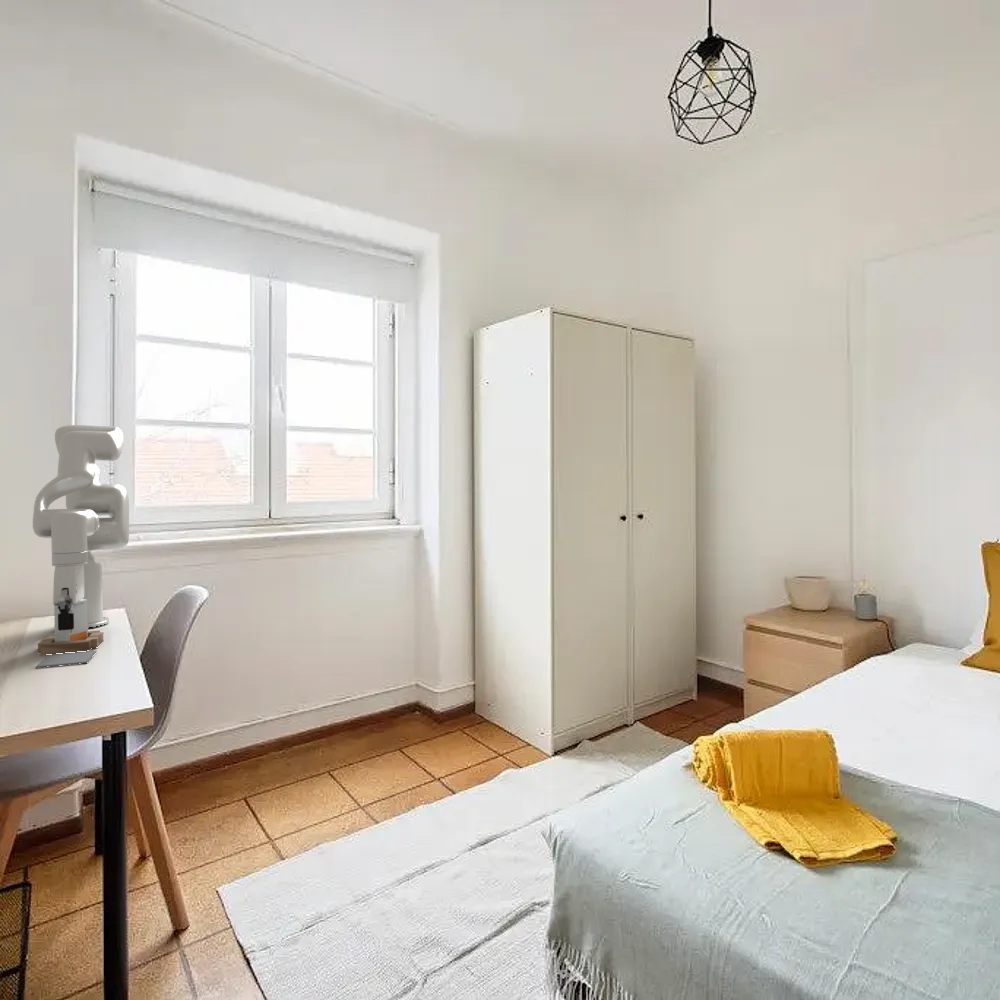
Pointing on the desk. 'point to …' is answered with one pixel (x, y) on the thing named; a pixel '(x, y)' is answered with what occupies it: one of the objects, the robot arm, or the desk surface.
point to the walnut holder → (70, 644)
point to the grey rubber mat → (66, 659)
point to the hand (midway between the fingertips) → (71, 625)
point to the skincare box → (79, 624)
